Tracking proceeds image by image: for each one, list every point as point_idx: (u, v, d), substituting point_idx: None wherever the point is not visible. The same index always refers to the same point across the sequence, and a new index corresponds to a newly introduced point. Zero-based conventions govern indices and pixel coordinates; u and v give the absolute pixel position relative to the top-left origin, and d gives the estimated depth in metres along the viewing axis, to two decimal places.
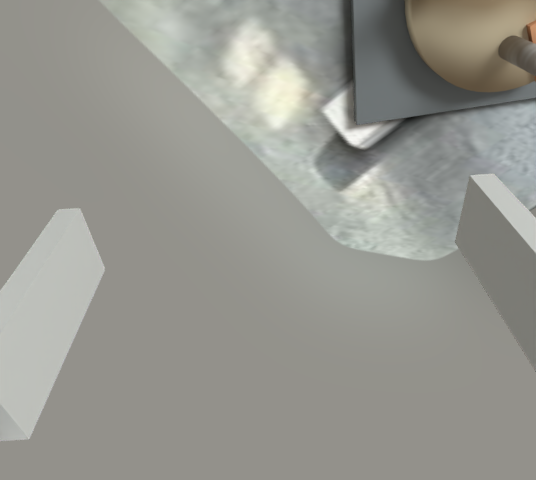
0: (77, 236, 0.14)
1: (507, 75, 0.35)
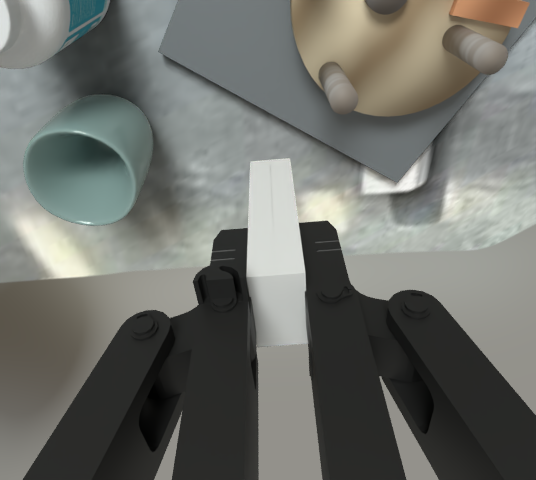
0: None
1: None
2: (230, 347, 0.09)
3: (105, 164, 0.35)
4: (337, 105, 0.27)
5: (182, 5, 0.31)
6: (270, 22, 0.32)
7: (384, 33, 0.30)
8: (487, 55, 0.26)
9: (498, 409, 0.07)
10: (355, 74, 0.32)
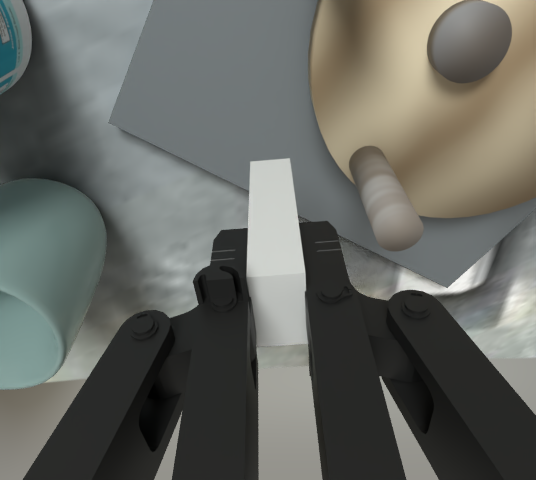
0: None
1: None
2: (230, 347, 0.09)
3: None
4: (387, 239, 0.16)
5: (142, 59, 0.20)
6: (277, 83, 0.21)
7: (454, 107, 0.19)
8: None
9: (498, 409, 0.07)
10: (404, 162, 0.21)
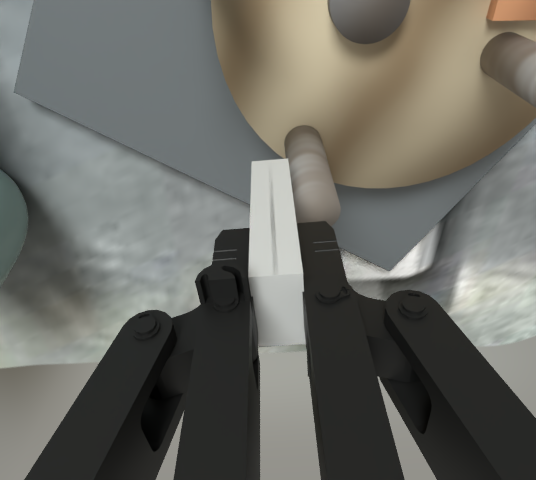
0: None
1: None
2: (232, 347, 0.09)
3: None
4: (306, 220, 0.16)
5: (39, 22, 0.19)
6: (185, 49, 0.20)
7: (378, 70, 0.18)
8: None
9: (495, 409, 0.07)
10: (342, 136, 0.20)
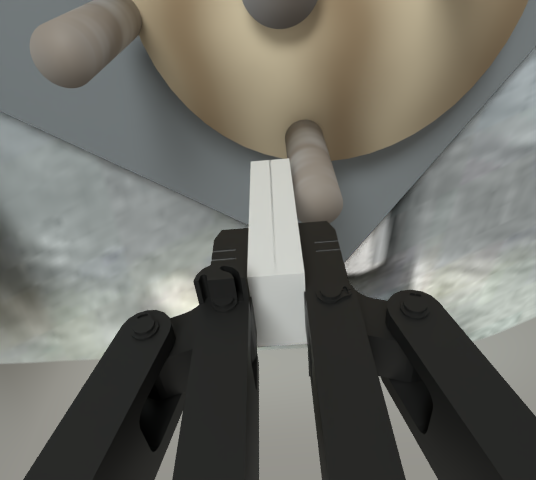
0: None
1: None
2: (231, 347, 0.09)
3: None
4: (313, 217, 0.16)
5: None
6: None
7: (333, 34, 0.17)
8: None
9: (497, 409, 0.07)
10: (336, 112, 0.19)
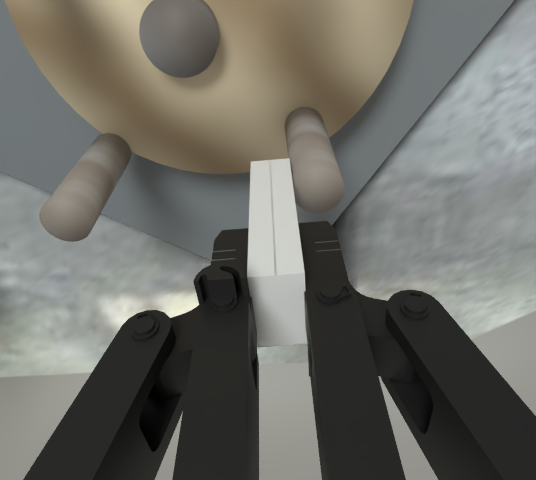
0: None
1: None
2: (231, 347, 0.09)
3: None
4: (324, 202, 0.15)
5: None
6: (35, 78, 0.20)
7: (254, 31, 0.17)
8: None
9: (497, 409, 0.07)
10: (312, 85, 0.19)
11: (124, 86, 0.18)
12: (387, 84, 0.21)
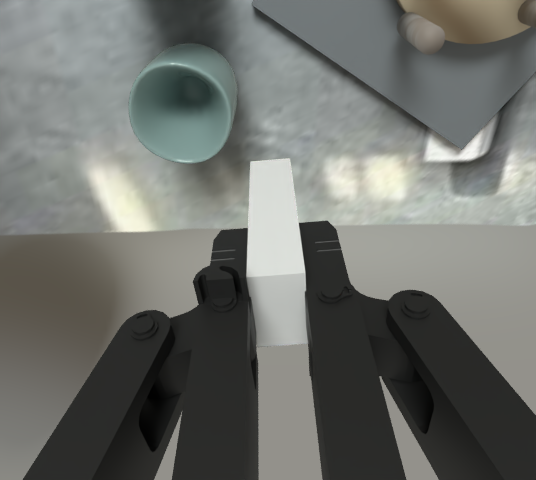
0: None
1: None
2: (230, 347, 0.09)
3: (191, 111, 0.37)
4: None
5: None
6: None
7: None
8: None
9: (498, 410, 0.07)
10: None
11: None
12: None
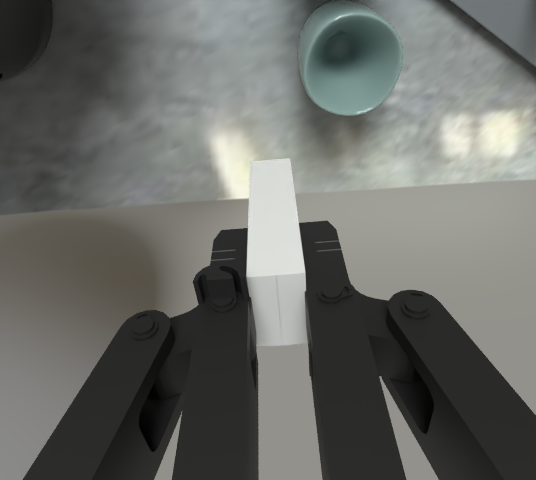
0: None
1: None
2: (230, 347, 0.09)
3: (338, 68, 0.38)
4: None
5: None
6: None
7: None
8: None
9: (498, 409, 0.07)
10: None
11: None
12: None
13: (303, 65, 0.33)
